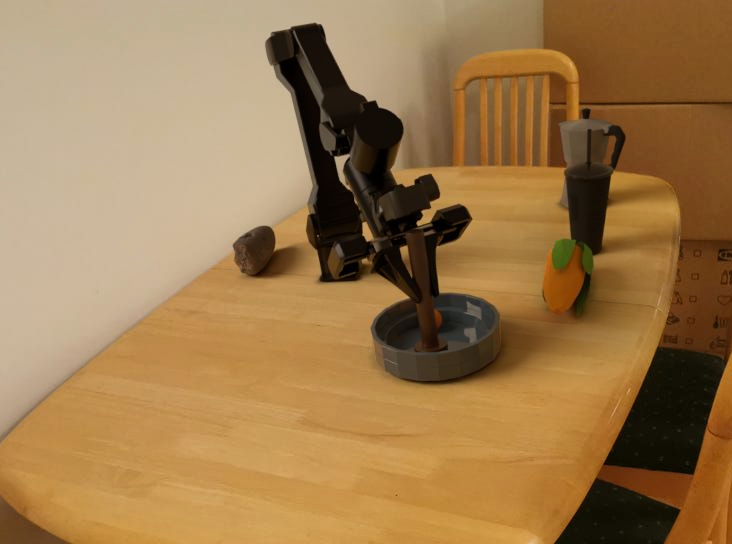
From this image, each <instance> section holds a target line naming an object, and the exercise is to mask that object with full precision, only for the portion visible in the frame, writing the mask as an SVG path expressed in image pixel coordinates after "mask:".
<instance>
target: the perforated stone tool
mask: <svg viewBox="0 0 732 544" xmlns="http://www.w3.org/2000/svg"><path fill="white" fill-rule="evenodd" d="M276 240H277V239H276V233H275V231H274V230H273V228H272V227H271V226H270V225H259V226H256V227H253V228H252V229H250V230H249V231H246V232H245V233H243V234H242V235H241V236H239V237H238V238H237V239H236V240H234V242H233V243H232V248H233V251H234V257H233V262H234V264H235V265H236V266H237V267H238V269H239V271H240V273H241V274H245V275H250V276H255V275H256V274H258V273H259V272H261V271H262V270H264V268H265V267H266V266H267V264H268V263H269V262H270V260H271V258H272V256H273V254H274V252H275V249H276V248H275V247H276V243H277V242H276Z"/></svg>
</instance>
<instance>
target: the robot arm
mask: <svg viewBox="0 0 732 544" xmlns="http://www.w3.org/2000/svg"><path fill="white" fill-rule="evenodd" d="M264 49H265V52H266V58H267V61H268V64H269V66H271V67H272V68H273V70H274V73H275V75H274V76H275V77H276V79H277V80H278V82H280V83H281V84H282V86H283V87H284V88H285V89H286V90H287V91H288V92H289V93H290V98H291V101H292V105H293V110H294V113H295V118H296V121H297V126H298V130H299V134H300V139H301V143H302V147H303V151H304V156H305V159H306V163H307V167H308V171H309V177H310V180H311V185H312V187H311V191H310V194H309V196H308V200H307V209H308V214H307V217H306V224H305V225H306V226H305V232H306V236H307V240H308V243H309V244H310V246H311V247H312V248H313V249H314V250H315V251H316V253H317V256H318V263H319V266H320V268H319V269H320V273H321V274H320V276H319V278H318V281H319V282H337V281H355V280H356V279H357V277H358V276H359V273H360V272H361V270H362V269H363V266H364V264H363V260H367V262H368V263H369V264H370V266H369V269H368V273H369V274H370V275H375V274H377V275H379V276H380V277H381V278H383V279H384V280H386V281H388V282H389V283H390V284H392V285H394V287H396V288H398V289H399V290H400V291H401V292H402V293H403V294H404V295H406V296H407V298H411V299H412V300H413V301H415V302H416V303H417V304H419V303H421V301H422V298H421V295H420V293H419V290H418V288H417V286H416V284H415V282H414V281H413V279H412V274H410V271H409V269H408V267H407V266H406V264H405V262H404V260H403V256H402V251H401V248H404V247H407V240H406V234H405V233H406V232H407V231H409V230H412V229H423V231H424V238H425V245H426V253H427V260H428V267H429V274H430V282H431V289H432V295H433V296H434V298H436V297H438V296H439V293H440V287H439V285H440V284H439V276H438V268H437V248H438V247H442V246H445V245H448V244H450V243H454V242H457V241H458V240H460V239H461V237H463V234H464V233H465V232H466V230H467V229H468V227H469V226H470V223H471V222H472V221H473V217H472V215H471V212H470V211H469V209H468V207H466V206H465V205H463V204H461V203H457V204H453V205H450V206H447V207H444V208H440V209H436V211H435V213H434V215H433V216H432V217H431V220H430V222H427V223H423V224H420V225H418V222H420V221H421V220H422V219H423V217H424V214H423V211H426V210H431V209H432V205H431V203H432V202H435V201H436V200H439V199H440V198H441V191H440V186H439V185H438V182H437V180H436V178H435V177H434V176H433V174H432V172H431V173H427V174H423V175H420V176H419V177H417V178H415V179H414V180H413V183H414V184H411V185H408V186H405V185H404V183H399V184H398V182H397V180H396V178H395V177H394V174H393V172H392V170H391V169H392V168H393V167H394V165H395V163H396V161H397V157H398V153H399V149H400V147H401V143H402V140H403V136H404V130H405V128H404V123H403V121H402V119H401V118H400V117H398V115H397V114H395V113H394V112H393V111H391V110H389V109H387V108H384V107H379V104H378V102H377V100H376V99H374V100H368V99H367V98H366V96H365V95H363V94H361V93H359V92H357V91H355V90H353V89H352V88H351V87H350V86H349V84H348V81H347V79H346V78H345V76H344V74H343V71H342V70H341V68H340V66H339V64H338V61H337V60H336V58H335V56H334V54H333V53H332V50H331V48H330V46H329V44H328V43H327V36H326V32H325V28H324V27H323V25H322V24H321V23H317V22H309V23H304V24H297V25H292V26H290V28H287V29H282V30H275V31H271V32H270V36H269V37H268V38H267V39H266V40H265V41H264ZM348 155H349V156H348ZM344 156H348V157H347V159H346V160H345V162H344V163H343V168H342V175H343V176H344V182H345V185H344V183H343V182H342V181H341V179H340V176H339V175H340V174H339V170H338V166H337V163H336V158H339V157H344ZM347 186H348V187H349V189H348V188H347ZM364 223H366V224H367V226H368V230H369V231H370V233H371V235H372V237H373V238H372V239H370V240H368V241H367V239H366V237H365V235H364V229H363V227H364V225H363V224H364Z"/></svg>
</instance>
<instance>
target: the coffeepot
mask: <svg viewBox="0 0 732 544" xmlns="http://www.w3.org/2000/svg"><path fill="white" fill-rule="evenodd" d="M591 111H592V110H591V108H588V107H584V108H583V109H581V115H582V118H579V119H573V120H567V121H562V122H560V123H557V126H558V127H559V130H560V137H561V143H562V145H561V146H562V151H563V157H564V162H565V163H567V165H566V169H567V168H568V167H571V166H573V165H575V164H577V163H580V162H585V161H587V129H592V136H591V161H596V162H601V163H603V164H604V160H605V159H606V157H607V152H608V148H609V142H610V137H611V136H612V137H613V136H614V137H615V142H614V146H613V150H612V151H613V152H612V153H611V156H610V164H608V165H609V166H611V167H612V168H613V170H614V171H615V170H616V168H617V165H618V162H619V159H620V157H621V154H622V151H623V148H624V146H625V142H626V139H627V136H626V133H625V131H624V130H623V129H622V127H621V126H620V125H617V124H613V122H611V121H608V120H605V119H603V118H593V117H590V115H591ZM608 201H609V196H608ZM560 204H561V205H562V206H563V207H564V208H566V209H568V198H567V186H566V177H565V176H564V179H563V185H562V190H561V197H560Z"/></svg>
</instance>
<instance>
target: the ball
mask: <svg viewBox="0 0 732 544" xmlns="http://www.w3.org/2000/svg"><path fill="white" fill-rule="evenodd" d="M434 311H435V318H436V325H437V329H438V328H439V327H440V326H441V323H442V317H441V314H440V313H439V312H438V311H437V310H435V309H434Z"/></svg>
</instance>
